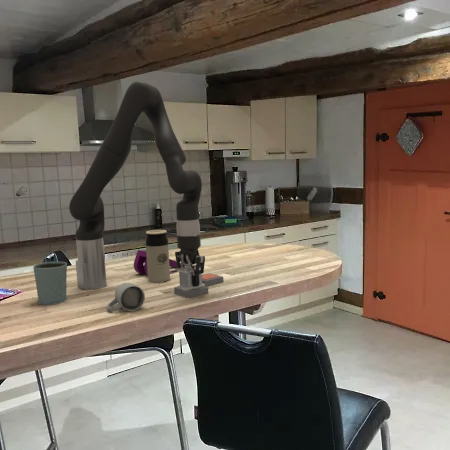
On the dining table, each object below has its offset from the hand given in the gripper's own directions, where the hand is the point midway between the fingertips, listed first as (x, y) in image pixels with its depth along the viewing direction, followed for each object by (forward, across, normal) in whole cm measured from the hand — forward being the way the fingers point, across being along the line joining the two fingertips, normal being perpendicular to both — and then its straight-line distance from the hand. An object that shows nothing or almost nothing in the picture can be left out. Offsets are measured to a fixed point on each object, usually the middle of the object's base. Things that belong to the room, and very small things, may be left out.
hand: (191, 284), depth 164 cm
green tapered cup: (+3, -26, -36) cm, 45 cm away
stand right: (+3, -7, +12) cm, 14 cm away
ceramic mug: (+3, -1, -23) cm, 24 cm away
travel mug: (+3, -23, +2) cm, 23 cm away
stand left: (+3, 0, 0) cm, 3 cm away
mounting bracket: (+3, -33, +9) cm, 35 cm away
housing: (+1, 0, 0) cm, 1 cm away
